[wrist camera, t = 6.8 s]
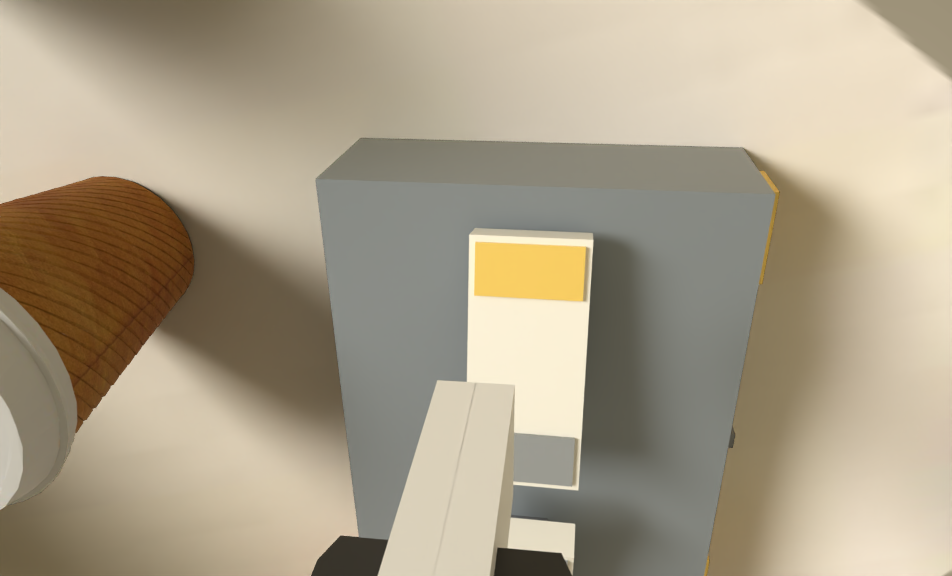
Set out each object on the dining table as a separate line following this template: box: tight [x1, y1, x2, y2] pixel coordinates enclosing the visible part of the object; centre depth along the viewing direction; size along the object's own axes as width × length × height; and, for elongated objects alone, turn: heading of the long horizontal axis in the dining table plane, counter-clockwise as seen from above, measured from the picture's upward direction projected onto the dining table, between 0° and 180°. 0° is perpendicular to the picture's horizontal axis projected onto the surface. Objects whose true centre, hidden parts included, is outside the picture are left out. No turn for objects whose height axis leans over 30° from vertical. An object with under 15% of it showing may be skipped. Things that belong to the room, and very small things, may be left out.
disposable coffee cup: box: [0, 176, 194, 510], centre depth 25 cm, size 10×10×12 cm
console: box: [316, 138, 780, 576], centre depth 28 cm, size 14×20×6 cm
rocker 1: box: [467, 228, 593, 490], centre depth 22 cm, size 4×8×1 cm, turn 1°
